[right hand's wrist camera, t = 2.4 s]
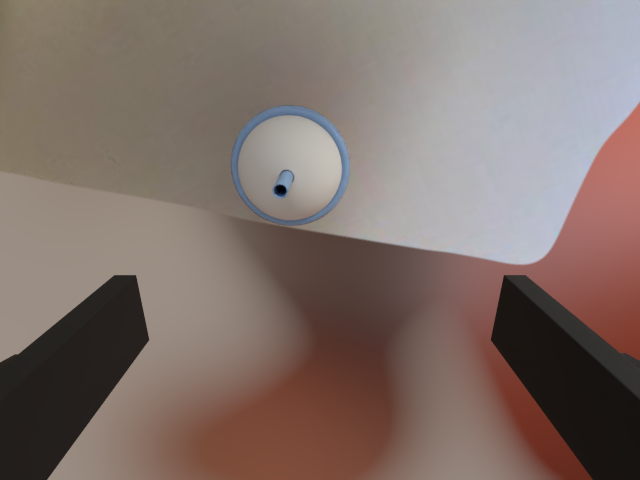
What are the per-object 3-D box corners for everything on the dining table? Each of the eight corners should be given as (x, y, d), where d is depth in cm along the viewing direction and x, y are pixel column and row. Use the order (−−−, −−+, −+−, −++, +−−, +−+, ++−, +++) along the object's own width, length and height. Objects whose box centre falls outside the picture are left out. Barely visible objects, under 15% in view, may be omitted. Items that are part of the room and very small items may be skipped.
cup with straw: (264, 202, 38) (221, 275, 22) (244, 114, 35) (176, 119, 18) (347, 189, 38) (370, 253, 21) (335, 99, 35) (350, 89, 18)
